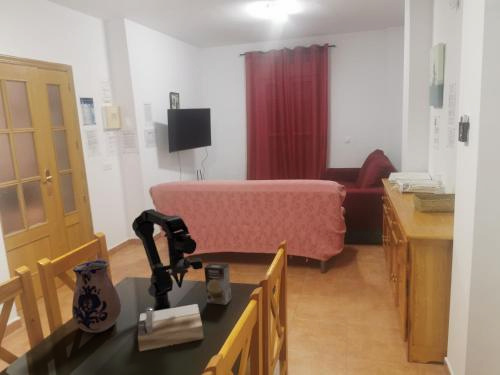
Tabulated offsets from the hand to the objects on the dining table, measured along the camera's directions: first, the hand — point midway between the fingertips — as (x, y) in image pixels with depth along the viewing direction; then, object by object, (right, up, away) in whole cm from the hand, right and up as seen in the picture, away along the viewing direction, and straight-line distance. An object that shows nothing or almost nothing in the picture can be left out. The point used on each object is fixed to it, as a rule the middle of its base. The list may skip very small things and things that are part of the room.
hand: (180, 287), depth 150 cm
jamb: (-3, -14, -3) cm, 14 cm away
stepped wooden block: (-1, -15, -12) cm, 19 cm away
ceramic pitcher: (-32, -16, +2) cm, 35 cm away
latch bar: (-9, -10, -11) cm, 18 cm away
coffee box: (+14, -10, +15) cm, 23 cm away
